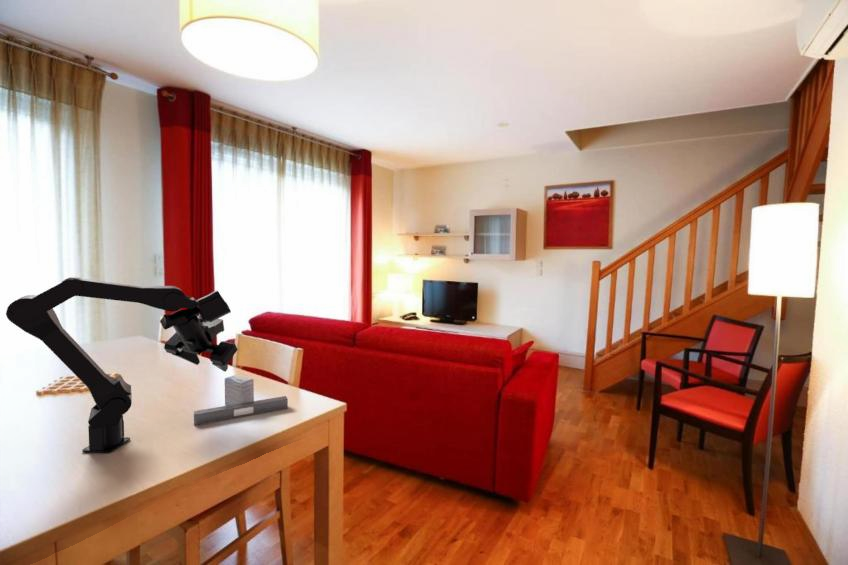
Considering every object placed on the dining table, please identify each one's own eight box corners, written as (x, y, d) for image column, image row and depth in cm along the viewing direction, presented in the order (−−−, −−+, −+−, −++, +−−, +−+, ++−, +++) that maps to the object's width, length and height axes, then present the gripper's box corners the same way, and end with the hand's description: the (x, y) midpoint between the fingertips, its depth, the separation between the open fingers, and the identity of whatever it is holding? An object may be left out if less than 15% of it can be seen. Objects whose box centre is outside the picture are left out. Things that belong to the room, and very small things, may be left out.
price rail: (194, 426, 104) (194, 415, 104) (193, 421, 106) (193, 411, 106) (287, 408, 117) (287, 399, 117) (285, 405, 119) (285, 395, 119)
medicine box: (254, 407, 117) (254, 378, 117) (240, 412, 114) (240, 382, 113) (238, 401, 121) (237, 373, 121) (224, 405, 118) (224, 377, 117)
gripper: (240, 314, 106) (257, 351, 116) (181, 302, 109) (203, 339, 120) (213, 345, 97) (233, 382, 108) (151, 331, 101) (176, 368, 111)
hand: (212, 366), depth 112 cm, fingers open, 9 cm apart
